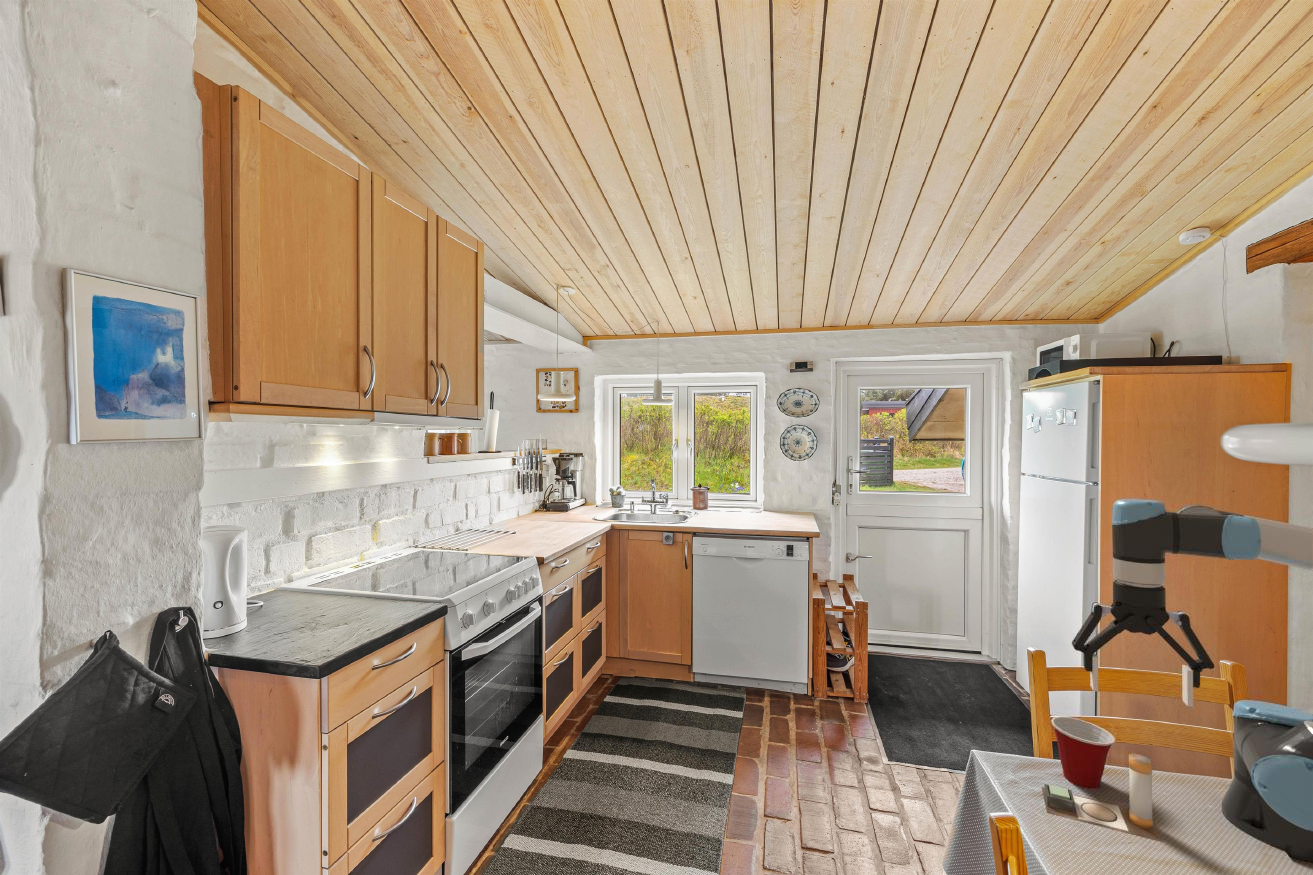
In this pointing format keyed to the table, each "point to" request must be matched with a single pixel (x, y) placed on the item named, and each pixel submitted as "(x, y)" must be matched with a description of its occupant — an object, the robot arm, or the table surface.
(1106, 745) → the plastic cup
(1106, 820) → the board
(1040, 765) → the table surface
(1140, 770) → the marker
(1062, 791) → the button
